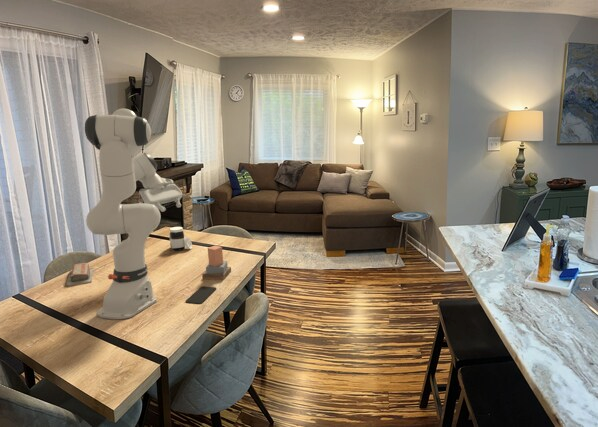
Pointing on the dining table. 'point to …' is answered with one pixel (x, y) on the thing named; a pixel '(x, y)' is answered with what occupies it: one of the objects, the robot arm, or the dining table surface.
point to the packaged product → (80, 274)
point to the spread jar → (179, 239)
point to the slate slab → (216, 268)
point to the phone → (201, 295)
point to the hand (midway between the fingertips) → (172, 208)
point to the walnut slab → (217, 275)
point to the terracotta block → (215, 256)
